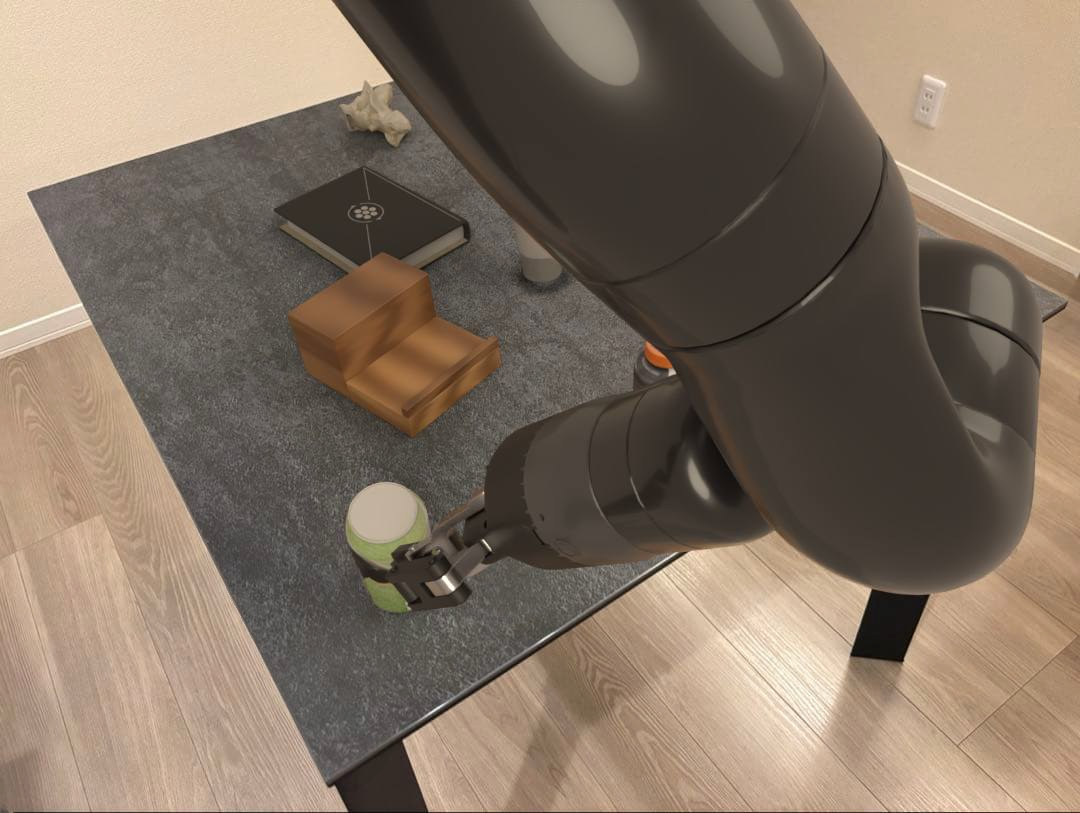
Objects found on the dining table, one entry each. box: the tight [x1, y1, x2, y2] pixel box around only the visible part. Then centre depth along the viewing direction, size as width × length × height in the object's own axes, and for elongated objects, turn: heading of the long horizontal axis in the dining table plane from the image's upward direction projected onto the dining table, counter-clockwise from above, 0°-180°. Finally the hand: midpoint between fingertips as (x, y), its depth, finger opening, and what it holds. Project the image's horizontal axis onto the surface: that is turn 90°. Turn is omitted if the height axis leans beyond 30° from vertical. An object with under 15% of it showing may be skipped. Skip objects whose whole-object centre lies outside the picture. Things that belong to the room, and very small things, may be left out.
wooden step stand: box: [286, 252, 502, 438], centre depth 84 cm, size 13×16×8 cm
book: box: [273, 165, 472, 275], centre depth 105 cm, size 22×15×3 cm
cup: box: [512, 219, 563, 283], centre depth 94 cm, size 7×7×12 cm
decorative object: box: [338, 79, 413, 148], centre depth 122 cm, size 9×14×8 cm, turn 34°
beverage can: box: [343, 481, 437, 614], centre depth 63 cm, size 6×7×12 cm
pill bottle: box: [632, 340, 676, 391], centre depth 74 cm, size 6×6×11 cm
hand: (452, 518), depth 52 cm, fingers open, 8 cm apart
